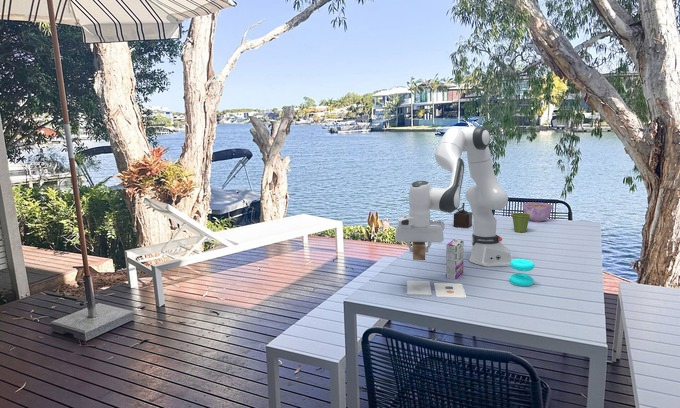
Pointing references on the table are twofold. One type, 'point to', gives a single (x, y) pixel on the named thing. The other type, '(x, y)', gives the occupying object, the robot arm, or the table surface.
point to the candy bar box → (454, 259)
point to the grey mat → (418, 288)
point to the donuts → (519, 277)
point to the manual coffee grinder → (462, 218)
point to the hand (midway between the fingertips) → (418, 251)
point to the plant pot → (520, 221)
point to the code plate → (449, 290)
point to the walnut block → (419, 250)
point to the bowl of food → (537, 210)
